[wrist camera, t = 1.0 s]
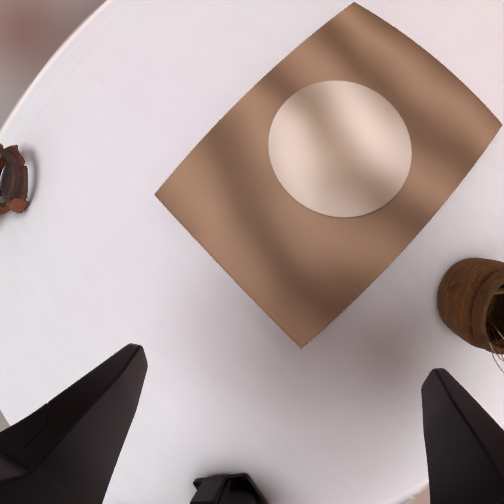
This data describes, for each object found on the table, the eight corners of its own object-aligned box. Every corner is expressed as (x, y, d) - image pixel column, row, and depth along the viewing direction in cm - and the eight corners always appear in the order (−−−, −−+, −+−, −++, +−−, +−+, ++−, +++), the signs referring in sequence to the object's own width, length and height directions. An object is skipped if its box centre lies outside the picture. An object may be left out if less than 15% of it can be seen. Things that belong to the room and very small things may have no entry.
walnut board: (353, 11, 20) (354, -3, 18) (494, 130, 18) (505, 122, 16) (163, 196, 25) (150, 193, 23) (302, 341, 23) (300, 351, 21)
